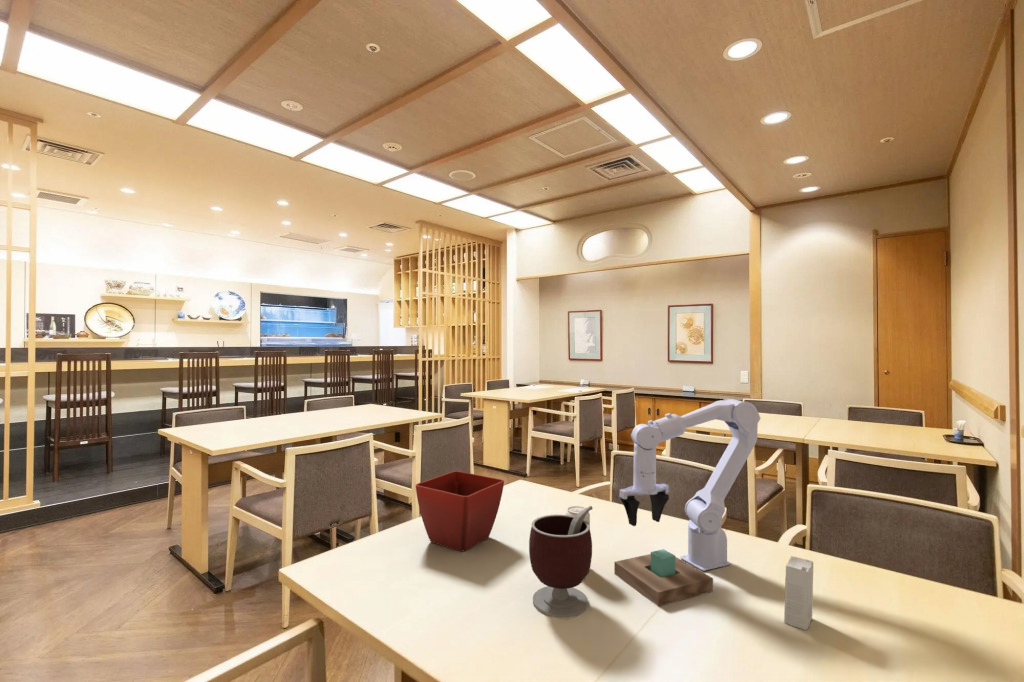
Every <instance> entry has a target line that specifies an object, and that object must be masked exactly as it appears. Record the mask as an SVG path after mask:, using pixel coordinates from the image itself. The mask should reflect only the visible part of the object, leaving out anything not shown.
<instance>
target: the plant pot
mask: <svg viewBox="0 0 1024 682" xmlns="http://www.w3.org/2000/svg"><path fill="white" fill-rule="evenodd" d="M504 485H505V480H504V479H500V478H497V477H495V478H494V477H490V476H485V475H482V474H481V475H480V474H476V473H472V472H471V473H469V472H465V471H460V470H454V471H450V472H448V473H445V474H441V475H440V476H436V477H434V478H431V479H428V480H425V481H421V482H419V483H416V484H415V492H416V498H417V504H418V508H419V512H420V516H421V519H422V523H423V525H424V529H425V532H426V534H427V536H428V540H429V541H430V542H431V543H434V544H437V545H440V546H442V547H445V548H449V549H453V550H456V551H459V552H465V551H467V550H469V549H471V548H473V547H475V546H476V545H478V544H479V543H481V542H484V541H485V540H487V539H488V538H489V537H490V535H491V532H492V529H493V527H494V524H495V521H496V518H497V515H498V513H499V509H500V505H501V500H502V495H503V492H504V491H503V490H504Z"/></svg>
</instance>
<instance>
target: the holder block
mask: <svg viewBox="0 0 1024 682" xmlns="http://www.w3.org/2000/svg"><path fill="white" fill-rule="evenodd" d="M613 569H614V571H613V572H614V575H616V576H617V577H618V578H619V579H621V580H622V581H623V582H625V584H627V585H629V586H630V587H631V588H633V589H634V590H636V591H637V592H638V593H640V594H641V595H642V596H644V597H645V598H646V599H648V600H649V601H650V602H652V603H653V604H655V605H656V607H660V606H664V605H668V604H671V603H675V602H679V601H682V600H686V599H689V598H692V597H693V598H694V597H696V596H697V597H698V596H699V595H700V596H701V595H704V594H708V593H712V592H714V577H711V576H710V575H708V574H706V573H704V571H702V570H700V569H698V568H696V567H695V566H693V565H691V564H689V563H688V562H686V561H684V560H682V559H681V558H679V557H677V556H675V574H674V575H670V576H666V577H662V578H660V577H659V576H657V575H656V574H654V573H653V572H651V553H650V554H645V555H640V556H633V557H631V558H626V559H621V560H617V561H614V568H613Z"/></svg>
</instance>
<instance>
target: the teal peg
mask: <svg viewBox="0 0 1024 682" xmlns="http://www.w3.org/2000/svg"><path fill="white" fill-rule="evenodd" d="M650 554H651V572H653V573H654V574H656V575H657V576H659V577H660V578H662V577H666V576H670V575H674V574H675V557H676V555H675V554H673V553H672V552H670V551H668V550H666V549H664V548H662V549H658V550H654V551H650Z"/></svg>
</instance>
